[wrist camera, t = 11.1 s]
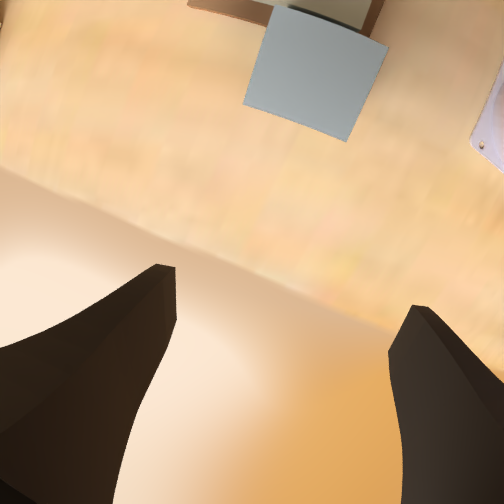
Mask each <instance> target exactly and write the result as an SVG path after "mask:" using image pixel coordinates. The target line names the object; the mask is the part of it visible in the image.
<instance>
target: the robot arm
mask: <svg viewBox="0 0 504 504" xmlns="http://www.w3.org/2000/svg"><path fill="white" fill-rule="evenodd" d="M481 141H483V143H484V147H483V148H482V149H480V148H479V143H480V142H481ZM469 143H470V145H471V146H472V147H473V148H474V149H475V150H476V151H478V152H479V153H480V154H481V155H482V156H484V157H485V158H486V159H487V160H488V161H489V162H491V163H492V164H493V165H494V166H495V167H496V168H498V169H499V170H500V171H501V172H502V173H503V174H504V58H503V60H502V63H501V66H500V69H499V71H498V74H497V76H496V79H495V81H494V84H493V86H492V89H491V91H490V93H489V96H488V98H487V101H486V103H485V105H484V107H483V110H482V112H481V114H480V116H479V118H478V121H477V123H476V125H475V127H474V129H473V131H472V133H471V135H470V138H469ZM176 320H177V316H176V281H175V267H171V266H166V265H160V264H155V265H153V266H152V267H150V268H148V269H147V270H145V271H144V272H142V273H141V274H139V275H138V276H136V277H135V278H133V279H132V280H130V281H129V282H127V283H126V284H124V285H123V286H121V287H120V288H118V289H117V290H115V291H114V292H112V293H111V294H109V295H108V296H106V297H104V298H103V299H101V300H99V301H98V302H96V303H94V304H93V305H91V306H89V307H88V308H86V309H85V310H83V311H81V312H80V313H78V314H76V315H74V316H73V317H71V318H69V319H67V320H65V321H63V322H61V323H59V324H57V325H55V326H53V327H51V328H49V329H47V330H45V331H43V332H41V333H38V334H35V335H33V336H30V337H28V338H26V339H23V340H21V341H18V342H16V343H13V344H10V345H8V346H5V347H2V348H0V504H113V498H114V493H115V488H116V484H117V480H118V475H119V471H120V467H121V463H122V459H123V456H124V452H125V449H126V445H127V442H128V438H129V435H130V432H131V429H132V426H133V423H134V420H135V417H136V414H137V411H138V409H139V407H140V404H141V402H142V400H143V398H144V396H145V393H146V391H147V389H148V387H149V385H150V383H151V381H152V379H153V377H154V374H155V372H156V370H157V368H158V366H159V364H160V362H161V360H162V358H163V356H164V354H165V351H166V349H167V347H168V344H169V341H170V338H171V335H172V332H173V329H174V326H175V323H176ZM388 356H389V370H390V380H391V386H392V390H393V396H394V401H395V406H396V412H397V417H398V423H399V428H400V434H401V442H402V453H403V454H402V455H403V481H402V498H401V504H504V383H503V382H502V381H501V380H499V379H498V378H497V377H496V376H495V375H494V374H493V373H492V372H491V371H490V370H489V369H488V368H487V367H486V366H485V365H484V364H483V363H482V361H481V360H480V359H479V358H478V357H477V356H476V355H475V354H474V353H473V352H472V351H471V350H470V349H469V348H468V347H467V345H466V344H465V343H464V342H463V341H462V340H461V339H460V338H459V337H458V336H457V335H456V334H455V333H454V332H453V330H452V329H451V328H450V327H449V326H448V325H447V324H446V323H445V322H444V321H443V320H442V319H441V318H440V317H439V316H438V315H437V314H436V313H435V312H434V311H432V310H431V309H430V308H429V307H425V306H417V305H412V306H411V308H410V310H409V312H408V314H407V316H406V318H405V320H404V322H403V324H402V326H401V328H400V330H399V332H398V334H397V336H396V338H395V340H394V341H393V344H392V345H391V347H390V349H389V351H388Z"/></svg>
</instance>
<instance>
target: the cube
mask: <svg viewBox="0 0 504 504" xmlns="http://www.w3.org/2000/svg"><path fill="white" fill-rule="evenodd" d="M388 49H389V47H387V46H385V45H383V44H381V43H378V42H376V41H374V40H372V39H370V38H368V37H365V36H363V35H361V34H359V33H356V32H354V31H351V30H349V29H347V28H344V27H342V26H339V25H337V24H334V23H331V22H329V21H326V20H323V19H320V18H318V17H315V16H312V15H309V14H306V13H303V12H300V11H296V10H293V9H290V8H287V7H283V6H280V5H276V4H275V6H274V9H273V11H272V14H271V17H270V20H269V23H268V26H267V29H266V32H265V35H264V38H263V41H262V44H261V47H260V50H259V53H258V57H257V60H256V63H255V66H254V69H253V72H252V76H251V79H250V82H249V85H248V89H247V92H246V95H245V98H244V102H243V105H246V106H249V107H252V108H255V109H259V110H262V111H265V112H268V113H271V114H274V115H277V116H279V117H282V118H285V119H288V120H291V121H293V122H296V123H299V124H302V125H304V126H307V127H310V128H312V129H315V130H317V131H320V132H322V133H325V134H327V135H330V136H332V137H335V138H337V139H340V140H342V141H344V142H347V140H348V137H349V135H350V133H351V131H352V129H353V127H354V125H355V122H356V120H357V118H358V116H359V114H360V112H361V109H362V107H363V105H364V103H365V101H366V98H367V96H368V94H369V92H370V90H371V87H372V85H373V83H374V81H375V78H376V76H377V74H378V72H379V69H380V67H381V65H382V62H383V60H384V58H385V56H386V53H387V51H388Z"/></svg>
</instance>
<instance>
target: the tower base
mask: <svg viewBox="0 0 504 504" xmlns="http://www.w3.org/2000/svg"><path fill="white" fill-rule="evenodd" d="M384 1H385V0H372V2H371V4H370V7H369V10H368V12H367V15H366V18H365V20H364V23H363V26H362V28H361V30H360V31H359V32H358V33H359V34H361V35H363V36H365V37H368V38H369V36H370V34H371V32H372V29H373V27H374V25H375V22H376V20H377V18H378V15H379V13H380V11H381V8H382V6H383V3H384ZM187 5H188V6H189V7H191V8H195V9H200V10H205V11H209V12H213V13H218V14H222V15H226V16H230V17H234V18H237V19H241V20H244V21H248V22H251V23H255V24H258V25H261V26H264V27H267V26H268V23H269V20H270V17H271V14H272V11H273V9H274V6H272V5H268V4H264V3H260V2H256V1H252V0H188V3H187Z"/></svg>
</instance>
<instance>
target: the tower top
mask: <svg viewBox="0 0 504 504" xmlns="http://www.w3.org/2000/svg"><path fill="white" fill-rule="evenodd" d="M252 1H256V2H260V3H264V4H268V5H272V6H275V4H276V5H280V6H283V7H287V8H290V9H293V10H296V11H300V12H303V13H306V14H309V15H312V16H315V17H318V18H320V19H323V20H326V21H329V22H331V23H334V24H337V25H339V26H342V27H344V28H347V29H349V30H351V31H354V32H356V33H358V32H359V31H360V30H361V28H362V26H363V23H364V20H365V18H366V15H367V12H368V10H369V7H370V4H371V2H372V0H252Z"/></svg>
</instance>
